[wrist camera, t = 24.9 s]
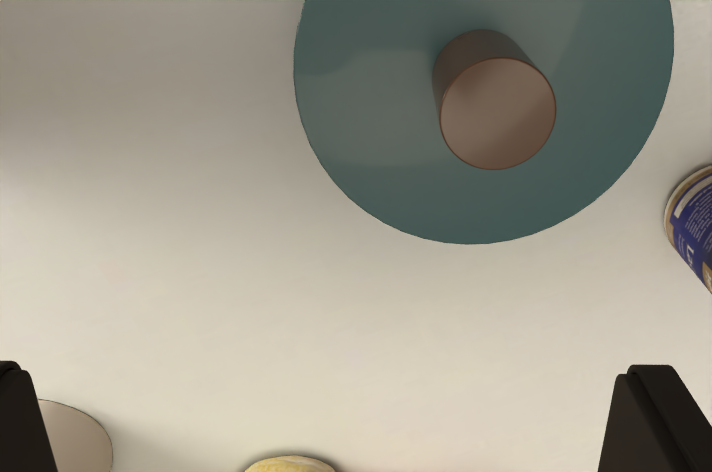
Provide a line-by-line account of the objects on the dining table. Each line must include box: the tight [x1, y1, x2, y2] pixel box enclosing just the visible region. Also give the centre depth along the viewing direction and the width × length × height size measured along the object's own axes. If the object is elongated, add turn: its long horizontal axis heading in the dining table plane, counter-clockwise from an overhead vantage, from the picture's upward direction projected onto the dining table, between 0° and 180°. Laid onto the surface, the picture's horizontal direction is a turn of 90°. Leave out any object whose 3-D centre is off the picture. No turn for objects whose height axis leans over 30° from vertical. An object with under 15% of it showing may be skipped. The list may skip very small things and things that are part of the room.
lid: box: [293, 0, 674, 244], centre depth 25 cm, size 15×15×7 cm
